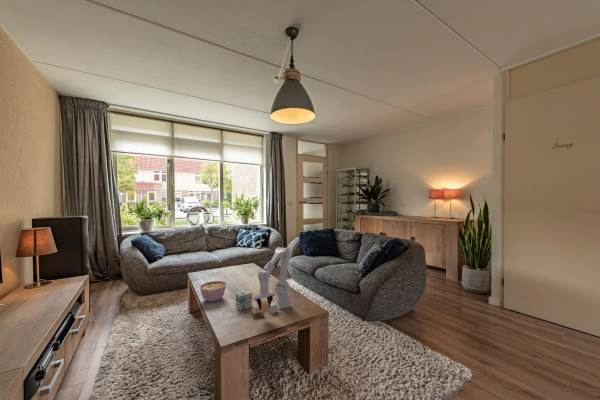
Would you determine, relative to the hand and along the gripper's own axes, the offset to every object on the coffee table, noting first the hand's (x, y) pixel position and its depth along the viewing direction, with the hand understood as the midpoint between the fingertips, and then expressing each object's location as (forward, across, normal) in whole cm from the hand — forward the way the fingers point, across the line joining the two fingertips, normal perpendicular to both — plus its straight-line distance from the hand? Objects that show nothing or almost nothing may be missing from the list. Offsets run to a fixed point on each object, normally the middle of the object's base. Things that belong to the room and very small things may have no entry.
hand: (264, 308), depth 160 cm
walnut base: (+8, +1, -9) cm, 12 cm away
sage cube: (+8, -10, -8) cm, 15 cm away
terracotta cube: (+2, 0, 0) cm, 2 cm away
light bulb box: (+8, +5, -26) cm, 28 cm away
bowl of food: (+8, +22, -51) cm, 56 cm away
